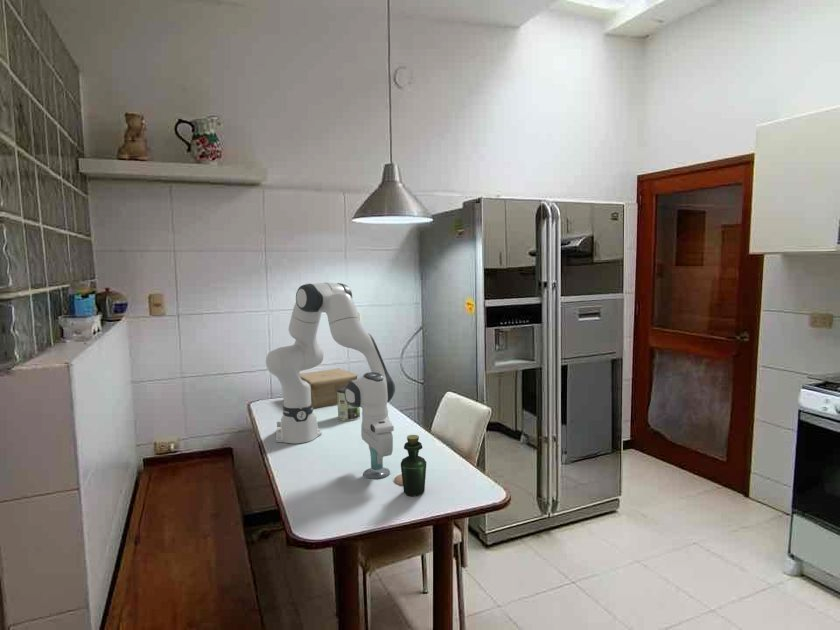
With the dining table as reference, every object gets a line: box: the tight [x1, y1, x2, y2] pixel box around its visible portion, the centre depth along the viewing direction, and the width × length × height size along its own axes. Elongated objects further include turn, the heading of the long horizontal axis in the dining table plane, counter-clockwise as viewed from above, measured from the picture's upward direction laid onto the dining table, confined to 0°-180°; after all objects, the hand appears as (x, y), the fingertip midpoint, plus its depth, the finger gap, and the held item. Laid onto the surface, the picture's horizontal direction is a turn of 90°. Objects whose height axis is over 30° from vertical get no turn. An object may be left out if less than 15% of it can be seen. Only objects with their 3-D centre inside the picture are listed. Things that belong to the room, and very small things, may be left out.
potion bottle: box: [400, 434, 427, 497], centre depth 162 cm, size 8×8×18 cm
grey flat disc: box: [363, 466, 391, 480], centre depth 178 cm, size 9×9×1 cm
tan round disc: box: [393, 473, 403, 487], centre depth 172 cm, size 9×9×1 cm
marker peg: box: [369, 447, 384, 470], centre depth 177 cm, size 4×4×7 cm
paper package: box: [300, 368, 358, 409], centre depth 272 cm, size 27×26×14 cm
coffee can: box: [337, 386, 361, 422], centre depth 240 cm, size 10×10×14 cm
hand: (376, 460), depth 177 cm, fingers closed on marker peg, 4 cm apart
